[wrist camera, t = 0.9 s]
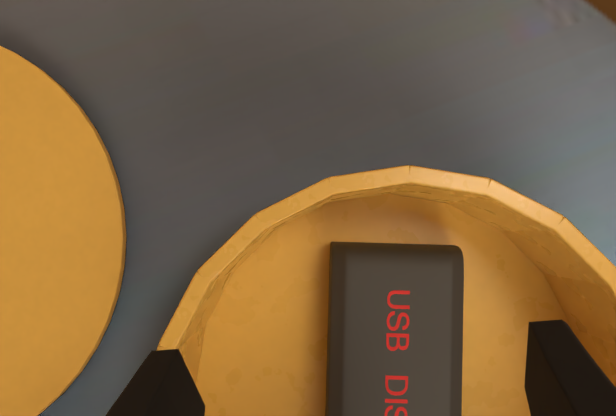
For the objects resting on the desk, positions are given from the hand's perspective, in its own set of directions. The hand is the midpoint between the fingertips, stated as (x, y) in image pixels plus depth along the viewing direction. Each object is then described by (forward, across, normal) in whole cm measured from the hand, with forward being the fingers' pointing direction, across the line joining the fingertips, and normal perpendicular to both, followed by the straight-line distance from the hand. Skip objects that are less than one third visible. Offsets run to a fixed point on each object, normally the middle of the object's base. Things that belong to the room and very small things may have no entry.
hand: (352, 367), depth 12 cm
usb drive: (+8, 0, +11) cm, 13 cm away
